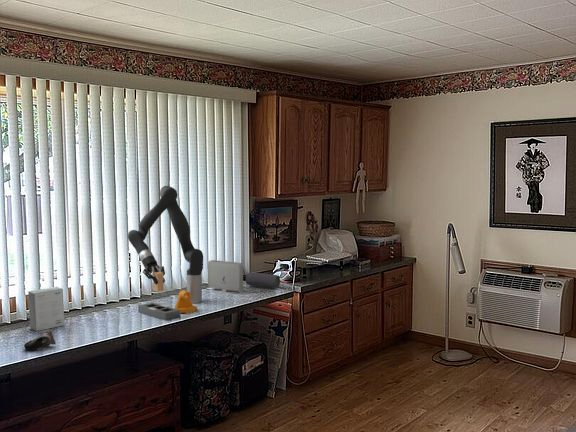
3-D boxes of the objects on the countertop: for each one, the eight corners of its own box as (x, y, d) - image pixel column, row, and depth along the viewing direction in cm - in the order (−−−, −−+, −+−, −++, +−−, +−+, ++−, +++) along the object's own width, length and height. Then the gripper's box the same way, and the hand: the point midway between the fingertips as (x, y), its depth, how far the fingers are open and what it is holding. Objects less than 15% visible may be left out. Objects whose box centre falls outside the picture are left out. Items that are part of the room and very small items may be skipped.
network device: (206, 290, 402) (205, 261, 400) (213, 288, 410) (213, 259, 408) (238, 294, 390) (238, 264, 388) (245, 292, 398) (245, 262, 396)
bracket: (182, 314, 341) (181, 293, 339) (175, 312, 346) (174, 291, 345) (197, 311, 348) (197, 290, 347) (190, 308, 353) (190, 288, 352)
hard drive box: (58, 322, 322) (57, 286, 320) (64, 325, 316) (63, 288, 315) (29, 328, 311) (28, 290, 309) (35, 331, 306) (33, 293, 304)
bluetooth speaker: (280, 288, 412) (280, 273, 411) (274, 290, 403) (274, 276, 402) (251, 285, 421) (251, 271, 420) (245, 287, 412) (245, 273, 411)
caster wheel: (23, 356, 275) (36, 346, 285) (44, 353, 273) (56, 343, 282) (18, 342, 274) (32, 333, 284) (39, 339, 271) (52, 330, 281)
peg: (159, 289, 341) (159, 271, 340) (163, 290, 338) (163, 272, 337) (153, 290, 338) (153, 272, 337) (157, 291, 335) (157, 273, 334)
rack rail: (138, 312, 345) (138, 304, 344) (152, 309, 352) (152, 301, 351) (165, 320, 327) (165, 312, 327) (180, 317, 334) (180, 309, 334)
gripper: (139, 256, 336) (152, 280, 329) (160, 253, 347) (173, 277, 340) (134, 264, 340) (147, 288, 333) (155, 261, 351) (168, 284, 344)
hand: (160, 282), depth 336 cm, fingers closed on peg, 4 cm apart
